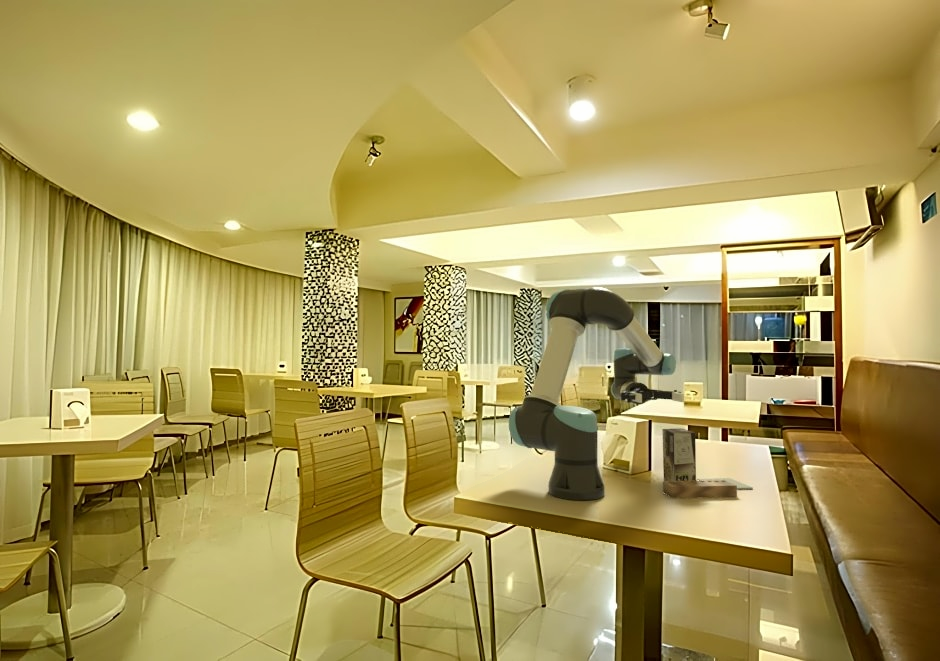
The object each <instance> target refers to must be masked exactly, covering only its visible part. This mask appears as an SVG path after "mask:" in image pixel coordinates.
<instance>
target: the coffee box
mask: <svg viewBox="0 0 940 661" xmlns="http://www.w3.org/2000/svg"><path fill="white" fill-rule="evenodd" d="M696 456H697V455H696V432H694V431H691V430H688V429H685V428H662V462H663V463H662V464H663V466H662V467H663V482H666V481H669V482H673V481H694V480H696V481H697V467H696V466H697V463H696V461H697V458H696Z"/></svg>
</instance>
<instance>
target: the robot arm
mask: <svg viewBox="0 0 940 661" xmlns="http://www.w3.org/2000/svg"><path fill="white" fill-rule="evenodd" d="M545 306H546V307H545V310H546V314H545V315H546V318H547V321H548V324H549V327H550V329H551V330H550V334H549V337H548V339H547V343H546V346H545V348H544V351H543V355H542V357H541V361H540V364H539V368H538V371H537V374H536V377H535V380H534V383H533V386H532V388H531V392H530V394H529V395H527V396H524V398H523V401H522V404H521V405H519V406H516V407H514V408H513V409H512V410H511V412H510V414H509V417H508V431H509V433H510V437H511V439H512V440H513V441H514V443H515V444H517V445H518V446H521V447H526V448H528V449H536V450H545V451H549V452H550V451H551V452H554V464H553V468H552V472H551V475H550V477H549V481H548V486H547V487H548V493H549V494H550V495H552V496H553V497H556V498H560V499H564V500H571V501H572V500H573V501H592V500H598V499H601V498H603V497H605V493H606V492H605V485H604V481H603V479H602V478H603V477H602V475H601V472H600V470H599V466H598V457H599V456H598V430H599V427H598V420H597V419H598V418H597V414H596V413H595V412H594V411H592V410H590V408H589V409H588V408H585V407H580V406H575V405H566V404H565V405H560V404H559V402H560V398H561V394H562V391H563V389H564V386H565V381H566V378H567V375H568V371H569V368H570V364H571V361H572V357H573V354H574V351H575V347H576V344H577V341H578V337H580V336H583V335H584V333H585V331H586V327H587V325H597V324H598V325H599V324H600V325H604V326H606V327H607V328H608V329H609V330H610V331H614V332H616V334H617V335H618V336H619V338H620V339H621V340H622V341H623V343H625V345H627V347H628V348H616V349H614V353H613V354H614V355H613V374H614V375H613V382H612V384H611V386H610V392H611V395H612V396H613V397H614V399H617V400H618V401H621V402H622V401H623V402H626V403H628V404H629V403H630V405H643V404H645V403H646V402H647V401H650V400H651V401H656V400H672V401H674V402H679V403H684V402H685V394H684V393H682V392H681V391H678V390H677V389H674V390H673V391H671V390H670V391H669V390H660V389H651V388H649V387H648V386H647V385H646V384H644V383H642V382H638V381H636V375H647V376H649V375H650V376H671V375H674V373H675V371H676V368H677V360H676V357H675V356H674V355H673V354H672V353H666V352H665V353H663V352H662V350H660V348H659V347H658V346H657V344H656V343H655V341H653V339H652V338H651V337H650V334H649V333H648V332H647V331H646V330H645V329H644V327H643V325H641V324H640V322H639V321H638V319H637V318H636V317H635V311H634V308H633V307H632V306H631V305H630V304H629V303H628V302H627V301H626V300H625V299H624V298H623V297H621V296H620V295H618V294H617V293H615V292H614V291H612V290H609V289H607V288H605V287H604V288H603V287H598V286H593V287H585V288H576V289H570V288H569V289H566V288H565V289H563V290H558V291H556V292H554V293H552V294H551V296H549V298H548V301H547V303H546V305H545Z"/></svg>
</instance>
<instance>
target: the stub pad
mask: <svg viewBox="0 0 940 661" xmlns="http://www.w3.org/2000/svg"><path fill="white" fill-rule="evenodd" d="M697 480H699V481H700V480H704V481H707V480H711V481H714V480H718V481H721V480H725V481H728V482H730V483H732V484H735V485H737V489H742V490H743V489H744V490H753V487H752V486H750V485H748V484H745V483H743V482H741V481H739V480H736V479H733V478H731V477H729V478H728V477H727V478H725V477H724V478H722V477H721V478H696V481H697Z"/></svg>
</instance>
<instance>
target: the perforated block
mask: <svg viewBox="0 0 940 661" xmlns="http://www.w3.org/2000/svg"><path fill="white" fill-rule="evenodd" d="M663 492H664V493H665V495H666V494H667V495H666V496H668V495H669V496H670V498H671V497H672V498H671V499H697V497H707V498H729V497H728V496H737V497H738V490H737V485H735V484H732V483H730V482H728V481H725V480H721V481H718V480H714V481H711V480H707V481H704V480H700V481H697V479H696V480H694V481H673V482H669V481H666V482H664V481H662V493H663ZM664 493H663V494H664ZM669 496H668V497H669Z"/></svg>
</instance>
